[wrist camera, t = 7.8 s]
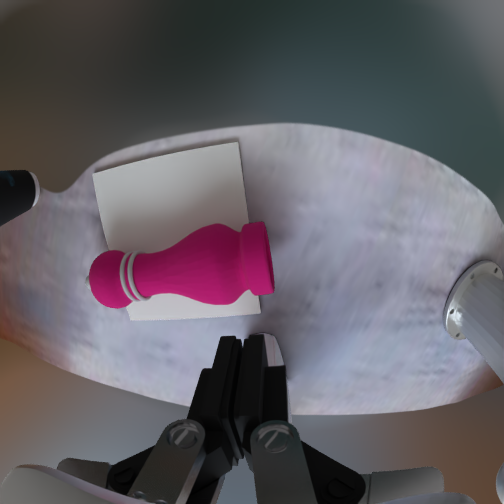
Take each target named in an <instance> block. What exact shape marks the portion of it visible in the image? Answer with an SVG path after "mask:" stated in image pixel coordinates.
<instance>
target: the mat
mask: <svg viewBox="0 0 504 504" xmlns="http://www.w3.org/2000/svg"><path fill="white" fill-rule="evenodd" d="M92 175H93V181H94V187H95V192H96V197H97V202H98V207H99V212H100V217H101V221H102V226H103V230H104V234H105V238H106V242H107V246H108V250H109V251H110V250H119V251H122V252H124V253H128V252H130V251H133V252H134V251H136V250H142V251H144V252H145V253H155V252H159V251H163V250H165V249H167V248H170V247H171V246H173V245H175V244H176V243H178V242H179V241H181V240H182V239H183V238H185V237H186V236H188V235H189V234H190V233H192V232H194V231H196V230H198V229H200V228H202V227H205V226H208V225H212V224H215V223H220V224H224V225H226V226H228V227H230V228H232V229H233V230H235V231H237V232H241V230H242V227H243V225H244V224H249V219H248V211H247V204H246V196H245V189H244V181H243V174H242V166H241V159H240V151H239V144H238V142H234V143H227V144H220V145H214V146H208V147H202V148H197V149H191V150H186V151H181V152H176V153H171V154H167V155H162V156H158V157H153V158H149V159H145V160H141V161H137V162H133V163H129V164H125V165H122V166H118V167H115V168H111V169H108V170H104V171H101V172H97V173H94V174H92ZM126 308H127V311H128V313H129V316H130V319H131V321H143V320H174V319H194V318H211V317H225V316H238V315H250V314H261V309H260V302H259V295H257V296H255V295H253V294H252V292H251V291H250V290H247V291H245V292H244V293H243V294H242V295H241V296H240V297H239V298H238V300H236V301H235V302H234V303H232V304H229V305H212V304H206V303H202V302H199V301H196V300H193V299H191V298H188V297H185V296H182V295H178V294H171V293H167V294H157V295H153V296H152V297H151V298H150V299H149V300H148V301H139V302H135V301H133V302H132V303H130V304H129V305H128V306H126Z"/></svg>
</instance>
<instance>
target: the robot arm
mask: <svg viewBox="0 0 504 504" xmlns="http://www.w3.org/2000/svg"><path fill="white" fill-rule="evenodd" d="M443 320H444V327H445V330H446V331H447V333H448V334H449V335H450V336H451V337H452V338H454V339H457V340H462V339H466V338H467V339H468V341H469V342H470V343H471V344H472V345H473V346H474V347H475V349H476V350H477V351H478V352H479V353H480V354H481V356H482V357H483V358H484V359H485V360H486V362H487V363H488V364H489V365H490V367H491V368H492V369H493V370H494V372H495V373H496V374H497V375H498V377H499V378H500V379H501V380H502V382H503V383H504V279H503V273H502V270H501V269H500V267H499V266H498V265H497V264H496V263H494V262H492V261H489V260H484V261H480V262H478V263H476V264H474V265H473V266H471V267H470V268H469V269H468V270H467V271H466V272H465V273H464V274H463V275H462V276H461V277H460V279H459V280H458V281H457V283H456V284H455V286H454V288H453V289H452V291H451V293H450V295H449V298H448V300H447V303H446V306H445V310H444V318H443ZM244 455H245V457H246V460H247V463H248V466H249V468H250V470H251V471H252V472H253V473H254V480H255V488H256V497H257V504H476V503H475V502H474V501H473V500H472V499H471V498H470V497H468V496H467V495H464V494H460V493H451V492H450V493H449V492H444V479H443V476H442V473H441V472H440V471H439V470H438V469H437V468H434V467H421V468H413V469H405V470H394V471H379V472H372V473H371V474H358V473H357V472H355V471H353V470H351V469H349V468H348V467H346V466H344V465H342V464H340V463H338V462H337V461H335V460H333V459H331V458H330V457H328V456H326V455H324V454H323V453H321V452H319V451H318V450H316V449H314V448H312V447H311V446H309V445H308V444H306V443H305V442H303V441H301V440H300V436H299V433H298V431H297V429H296V428H295V427H294V426H293V425H292V424H290V423H289V421H288V394H287V378H286V366H285V365H280V366H268V359H267V351H266V344H265V337H264V334H255V335H250V336H249V339H244V345H243V346H242V341H241V339H236V336H221V338H220V341H219V344H218V348H217V352H216V355H215V359H214V363H213V366H212V368H204V369H203V370H202V371H201V374H200V377H199V381H198V384H197V387H196V390H195V393H194V397H193V400H192V403H191V406H190V410H189V413H188V416H187V419H182V420H177V421H175V422H172V423H171V424H169V425H168V426H167V427H166V428H165V429H164V431H163V433H162V434H161V436H160V438H159V440H158V441H157V443H156V445H154V446H152V447H150V448H148V449H146V450H144V451H142V452H140V453H138V454H136V455H134V456H132V457H129V458H127V459H125V460H123V461H120V462H118V463H117V464H115V465H111V464H110V463H108V462H97V461H88V460H81V459H74V458H66V459H64V460H62V461H61V462H60V463H59V465H58V467H57V470H56V469H53V468H50V467H47V466H42V465H33V464H25V465H19V466H17V467H15V468H14V469H12V470H11V471H10V472H9V474H8V475H7V476H6V478H5V479H4V480H3V482H2V484H1V485H0V504H216V503H217V500H218V497H219V494H220V492H221V489H222V486H223V483H224V480H225V476H226V473H227V472H229V471H230V470H232V466H238V460H239V459H243V458H244ZM496 489H497V493H498V496H499V499H500V500H501V502H502V504H504V463H503V464H502V466H501V468H500V470H499V472H498V474H497V479H496Z"/></svg>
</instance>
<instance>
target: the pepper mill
mask: <svg viewBox="0 0 504 504" xmlns="http://www.w3.org/2000/svg"><path fill="white" fill-rule="evenodd" d="M85 283H86V286H87V288H88V289H90V290H91V291H92V293H93V295H94V296H95V298H96V299H97V300H98V301H99V302H100V303H101V304H103V305H105V306H107V307H110V308H122V307H126V306H128V305H129V304H130V303H132V302H133V301H135V302H139V301H148V300H149V299H150V298H151V297H152V296H153V295H157V294H167V293H171V294H178V295H182V296H185V297H188V298H191V299H193V300H196V301H199V302H202V303H206V304H212V305H229V304H232V303H234V302H235V301H236V300H238V298H239V297H240V296H241V295H242V294H243V293H244V292H245V291H247V290H250V291H251V292H252V294H253V295H255V296H257V295H264V294H271V293H274V288H275V287H274V274H273V266H272V258H271V252H270V246H269V240H268V235H267V231H266V227H265V224H264V222H262V221H261V222H255V223H249V224H244V225H243V227H242V230H241V232H237V231H235V230H233V229H232V228H230V227H228V226H226V225H224V224H220V223H215V224H212V225H208V226H205V227H202V228H200V229H198V230H196V231H194V232H192V233H190V234H189V235H188V236H186V237H185V238H183V239H182V240H181V241H179V242H178V243H176V244H175V245H173V246H171V247H170V248H167V249H165V250H163V251H159V252H155V253H145V252H144V251H142V250H136V251H134V252H133V251H130V252H128V253H124V252H122V251H119V250H110V251H107V252H104V253H102V254H100V255H99V256H98V257H97V258H96V259H95V260H94V262H93V263H92V265H91V268H90V272H89V276H88V277H87V278H86V281H85Z"/></svg>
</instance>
